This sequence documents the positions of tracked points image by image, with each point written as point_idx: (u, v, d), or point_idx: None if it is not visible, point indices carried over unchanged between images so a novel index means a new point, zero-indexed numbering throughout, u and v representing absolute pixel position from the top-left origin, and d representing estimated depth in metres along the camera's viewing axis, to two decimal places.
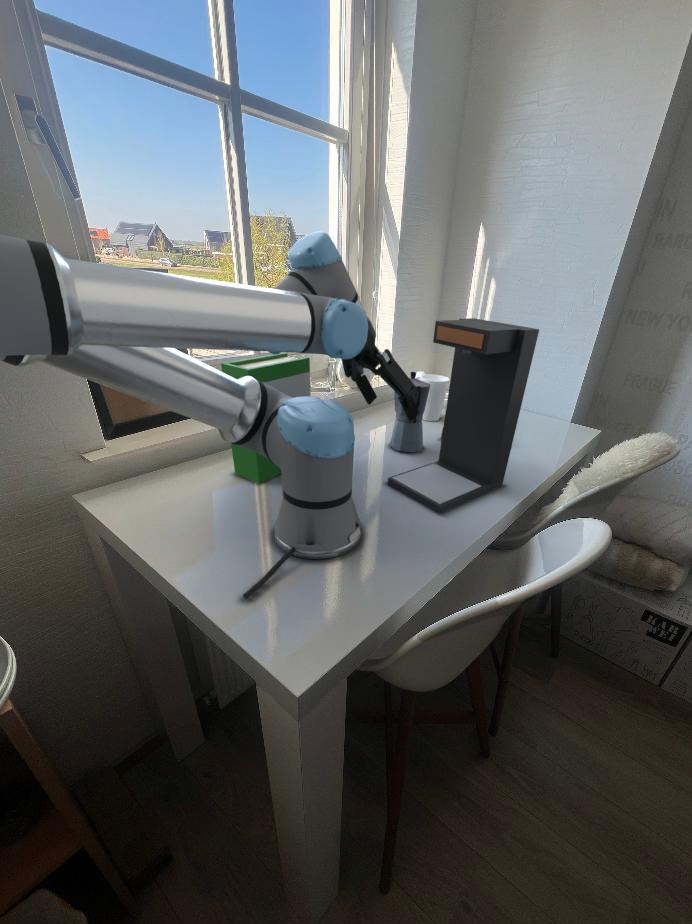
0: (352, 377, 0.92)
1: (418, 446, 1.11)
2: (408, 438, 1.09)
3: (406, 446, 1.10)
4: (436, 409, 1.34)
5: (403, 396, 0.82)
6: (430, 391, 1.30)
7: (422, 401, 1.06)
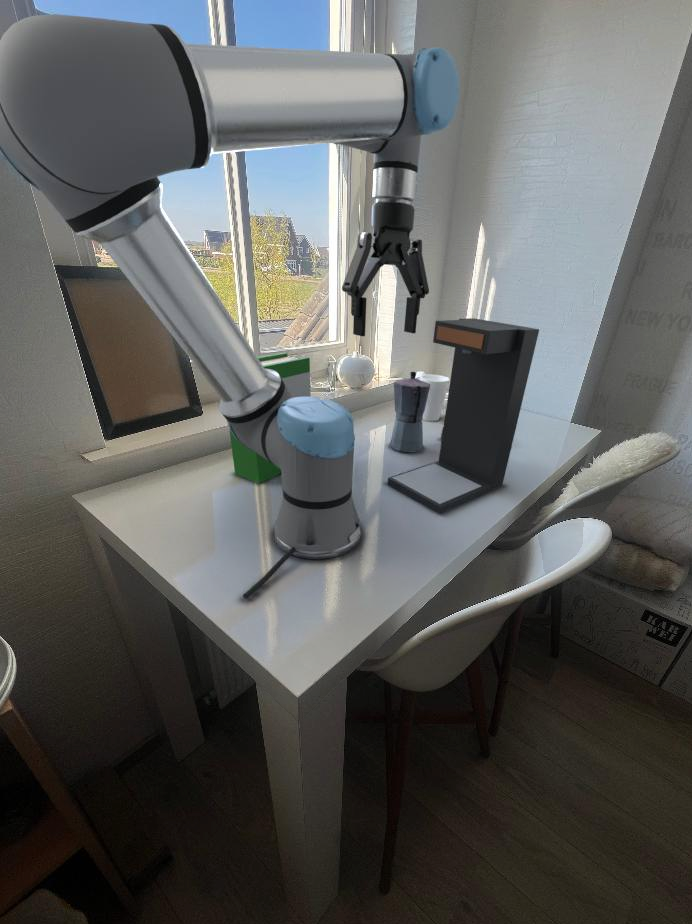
0: (361, 289, 0.75)
1: (418, 446, 1.11)
2: (408, 438, 1.09)
3: (406, 446, 1.10)
4: (436, 409, 1.34)
5: None
6: (430, 391, 1.30)
7: (422, 401, 1.06)
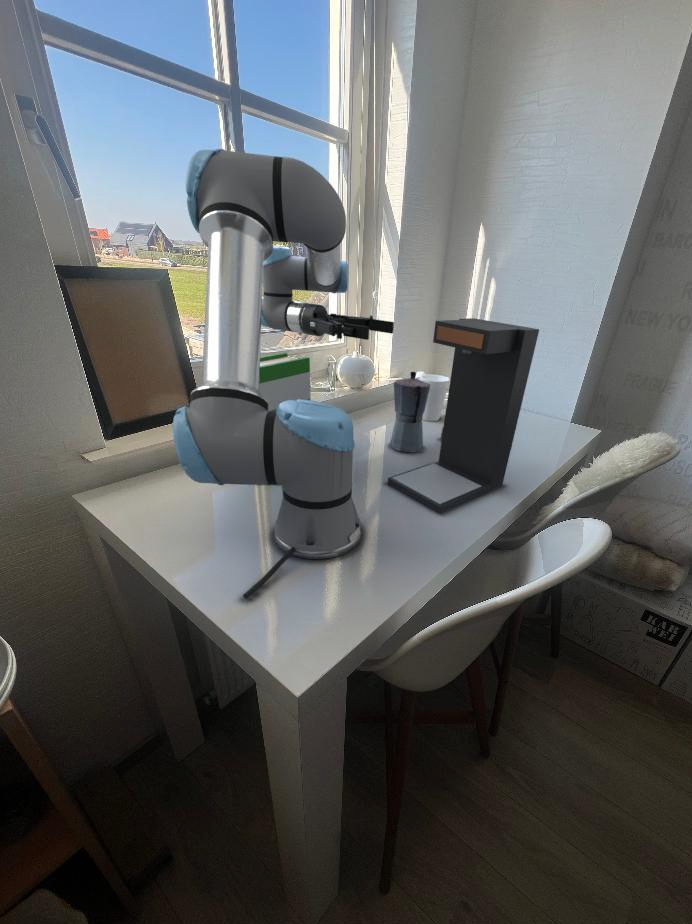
0: (337, 323, 0.99)
1: (418, 446, 1.11)
2: (408, 438, 1.09)
3: (406, 446, 1.10)
4: (436, 409, 1.34)
5: None
6: (430, 391, 1.30)
7: (422, 401, 1.06)
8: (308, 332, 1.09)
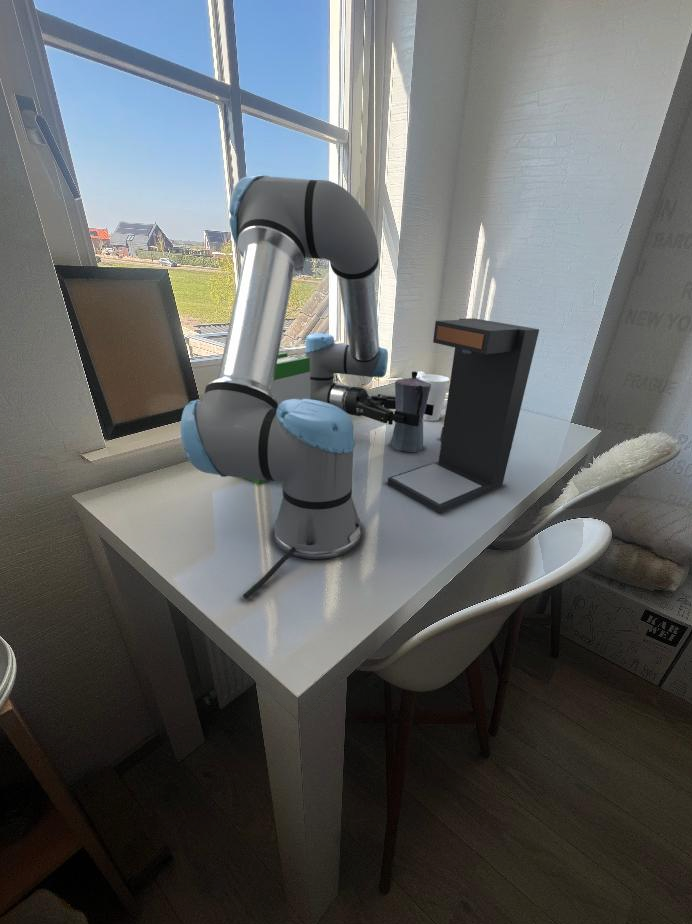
0: (388, 411, 1.05)
1: (419, 446, 1.11)
2: (409, 438, 1.09)
3: (407, 445, 1.10)
4: (436, 409, 1.34)
5: None
6: (430, 391, 1.30)
7: (424, 401, 1.06)
8: (350, 413, 1.14)
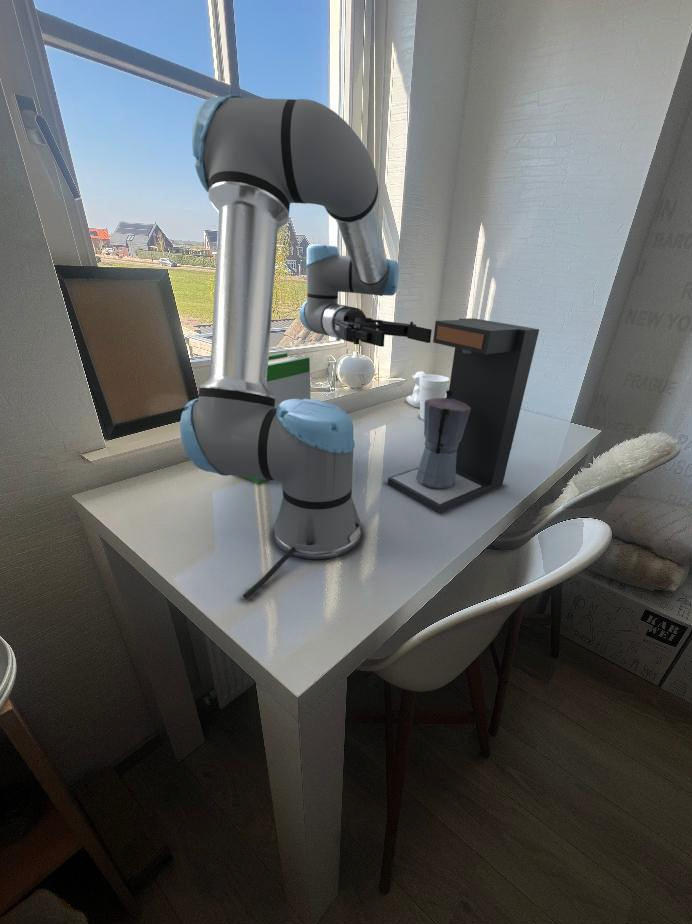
0: (355, 327, 0.87)
1: (445, 482, 0.89)
2: (432, 471, 0.89)
3: (430, 479, 0.89)
4: None
5: None
6: (430, 391, 1.30)
7: (454, 428, 0.84)
8: (340, 337, 0.99)
